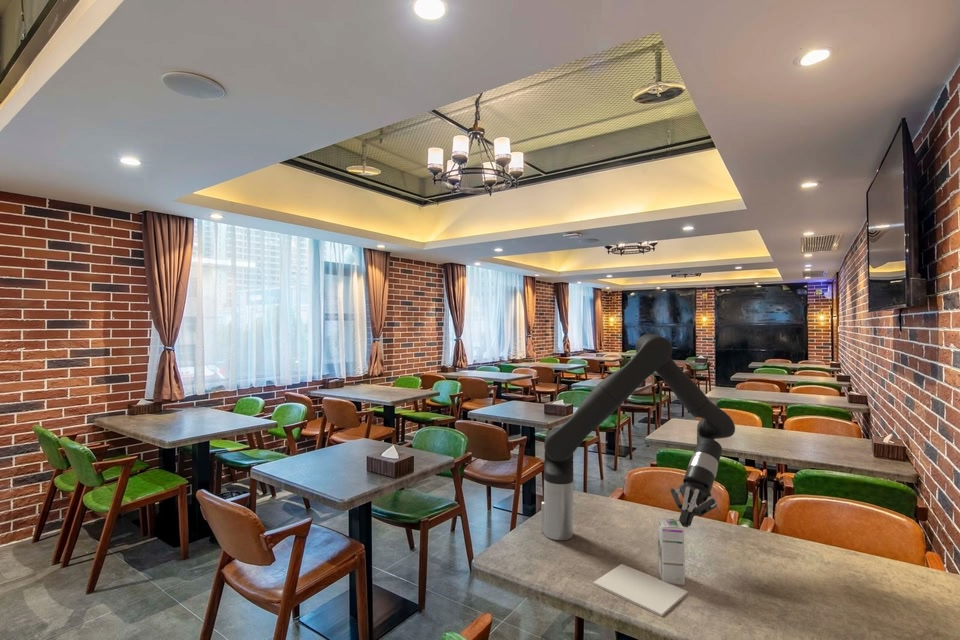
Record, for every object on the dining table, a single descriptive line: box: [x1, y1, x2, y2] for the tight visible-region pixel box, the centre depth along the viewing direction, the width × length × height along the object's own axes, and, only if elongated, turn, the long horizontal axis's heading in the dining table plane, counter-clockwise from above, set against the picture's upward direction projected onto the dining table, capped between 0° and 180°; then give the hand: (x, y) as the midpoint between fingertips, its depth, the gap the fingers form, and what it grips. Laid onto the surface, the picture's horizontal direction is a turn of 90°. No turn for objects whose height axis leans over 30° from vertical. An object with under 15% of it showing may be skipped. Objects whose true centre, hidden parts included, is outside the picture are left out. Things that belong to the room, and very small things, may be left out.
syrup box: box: [657, 517, 686, 586], centre depth 121 cm, size 6×6×14 cm
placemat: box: [592, 563, 689, 618], centre depth 116 cm, size 18×14×1 cm
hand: (683, 525), depth 127 cm, fingers closed
